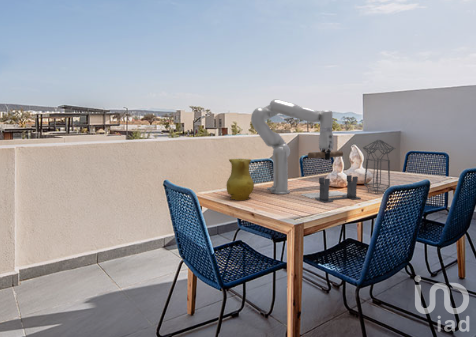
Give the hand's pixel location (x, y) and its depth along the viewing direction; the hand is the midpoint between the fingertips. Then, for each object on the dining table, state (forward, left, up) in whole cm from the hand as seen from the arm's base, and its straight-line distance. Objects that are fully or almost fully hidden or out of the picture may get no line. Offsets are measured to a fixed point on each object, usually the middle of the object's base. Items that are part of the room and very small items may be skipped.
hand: (325, 159), depth 227 cm
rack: (0, -14, -23) cm, 27 cm away
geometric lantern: (+36, -7, -24) cm, 44 cm away
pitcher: (-53, +13, -24) cm, 59 cm away
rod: (0, 0, +1) cm, 1 cm away
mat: (0, 0, -23) cm, 23 cm away
